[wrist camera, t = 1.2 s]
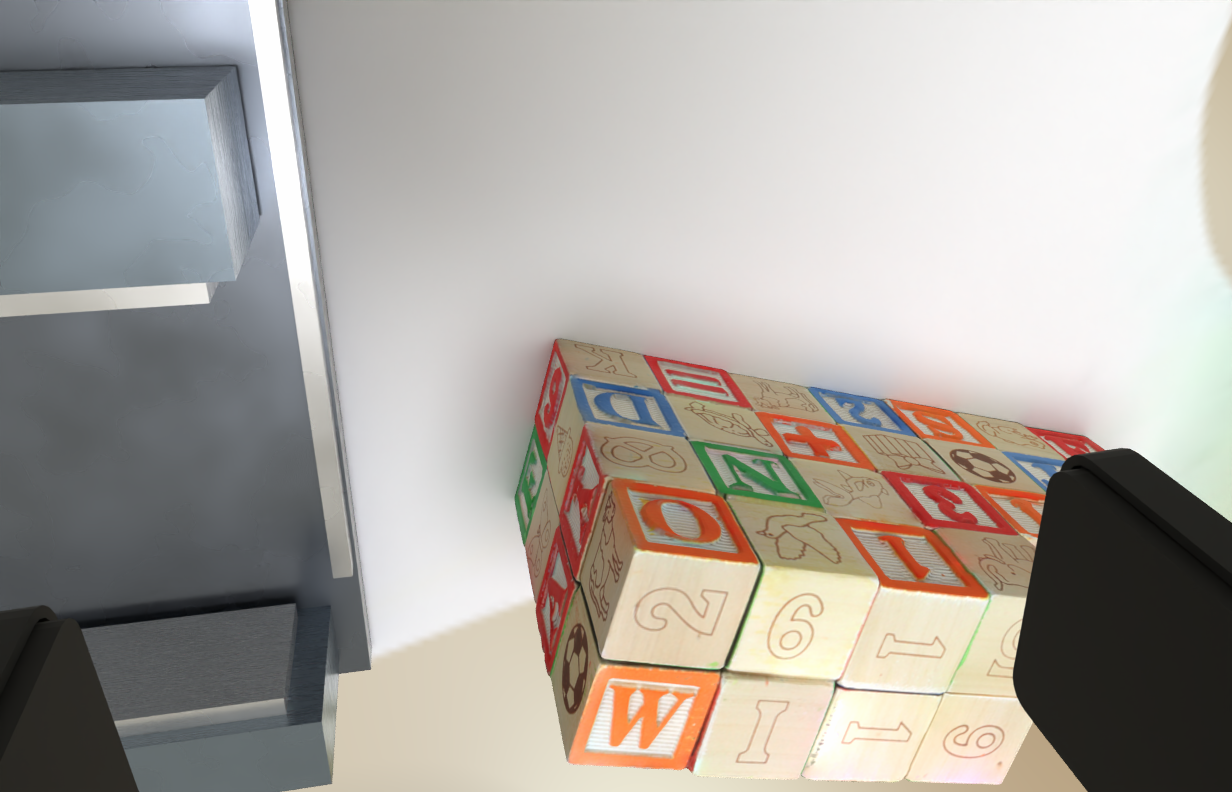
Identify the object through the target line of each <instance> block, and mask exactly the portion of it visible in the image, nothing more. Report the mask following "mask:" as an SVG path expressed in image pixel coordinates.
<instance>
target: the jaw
mask: <svg viewBox="0 0 1232 792" xmlns="http://www.w3.org/2000/svg"><path fill="white" fill-rule="evenodd" d="M259 222H260V218H259V212H258V205H257V199H256V192H255V186H254V179H253V173H252V167H251V160H250V154H249V147H248V141H247V135H246V128H245V122H244V115H243V109H242V103H241V96H240V90H239V83H238V77H237V70H236V66H216V67H175V68H134V69H93V70H52V71H11V72H0V317H9V316H24V315H39V314H55V313H70V312H85V311H100V310H115V309H131V308H146V307H161V306H176V305H192V304H207V303H210V301H211V299H212V297H213V295H214V292H215V290H216V288H217V286H218V283H219V282H224V281H236V278H237V276H238V274H239V271H240V269H241V266H242V264H243V261H244V259H245V256H246V254H247V251H248V249H249V246H250V244H251V241H252V239H253V236H254V234H255V232H256V229H257V227H258V224H259Z"/></svg>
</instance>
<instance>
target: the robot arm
mask: <svg viewBox="0 0 1232 792" xmlns="http://www.w3.org/2000/svg"><path fill="white" fill-rule="evenodd" d="M1013 685H1014V689H1015V693H1016V696H1017V698H1018V700H1019V703H1020V704H1021V706H1022V707H1023V709H1024V711H1025V712H1026V713H1027V714H1028V716H1029V717H1030V718H1031V720H1032V721H1033V722H1034V723H1035V725H1036V726H1037V727H1038V729H1039V730H1040V731H1041V732H1042V734H1043V735H1044V736H1045V738H1046V739H1047V740H1048V741H1049V742H1050V743H1051V745H1052V746H1053V748H1054V749H1055V750H1056V752H1057V753H1058V754H1059V755H1060V757H1061V758H1062V759H1063V761H1064V762H1065V763H1066V764H1067V766H1068V767H1069V768H1070V770H1071V771H1072V772H1073V773H1074V775H1075V776H1076V777H1077V779H1078V780H1079V781H1080V782H1081V784H1082V785H1083V786H1084V787H1085V789H1086V790H1087V791H1088V792H1232V523H1231V522H1230V521H1229V520H1227V519H1226V518H1225V517H1223V516H1222V515H1221V514H1219V513H1218V512H1216V511H1215V510H1214V509H1212V508H1211V507H1210V506H1208V505H1207V504H1206V503H1204V502H1203V501H1202V500H1200V499H1199V498H1198V497H1196V496H1195V495H1194V494H1192V493H1191V492H1190V491H1188V490H1187V489H1186V488H1184V487H1183V486H1182V485H1180V484H1179V483H1178V482H1176V481H1175V480H1173V479H1172V478H1171V477H1169V476H1168V475H1167V474H1165V473H1164V472H1163V471H1161V470H1160V469H1159V468H1157V467H1156V466H1155V465H1153V464H1152V463H1151V462H1149V461H1148V460H1147V459H1145V458H1144V457H1143V456H1141V455H1140V454H1139V453H1137V452H1135V451H1133V450H1131V449H1126V448H1119V449H1112V450H1105V451H1098V452H1091V453H1084V454H1078V455H1073V456H1071V457H1069V458H1067V459H1066V461H1065V462H1064V463H1063V465H1062V467H1061V470H1060V471H1059V472H1057V473H1055V474H1053V475H1052V477H1051V478H1050V479H1049V483H1048V486H1047V490H1046V496H1045V501H1044V506H1043V512H1042V517H1041V523H1040V528H1039V533H1038V539H1037V544H1036V549H1035V555H1034V560H1033V566H1032V571H1031V576H1030V582H1029V587H1028V592H1027V598H1026V603H1025V608H1024V614H1023V619H1022V625H1021V630H1020V635H1019V641H1018V646H1017V651H1016V657H1015V662H1014V668H1013ZM0 792H139V790H138V787H137V785H136V782H135V779H134V776H133V773H132V771H131V768H130V765H129V762H128V759H127V757H126V754H125V751H124V748H123V745H122V742H121V740H120V737H119V734H118V731H117V728H116V726H115V723H114V720H113V717H112V714H111V712H110V709H109V706H108V703H107V700H106V698H105V695H104V692H103V689H102V686H101V684H100V681H99V678H98V675H97V672H96V669H95V667H94V664H93V661H92V658H91V655H90V653H89V650H88V647H87V644H86V641H85V639H84V636H83V633H82V630H81V628H80V626H79V624H78V623H77V622H76V621H75V620H74V619H72V618H65V619H59V620H58V618H57V616H56V614H55V613H54V612H53V611H52V610H51V608H50V607H48V606H44V605H39V606H32V607H25V608H19V609H12V610H5V611H0Z"/></svg>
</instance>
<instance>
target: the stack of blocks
mask: <svg viewBox="0 0 1232 792" xmlns="http://www.w3.org/2000/svg"><path fill="white" fill-rule="evenodd" d="M1098 451H1105V450H1104V449H1103V448H1101V447H1100V446H1099V445H1097V444H1096V443H1094V442H1093V441H1091V440H1090V439H1089V438H1087V437H1084V436H1078V435H1072V434H1066V433H1059V432H1053V431H1047V430H1041V429H1034V428H1030V427H1024V426H1023V425H1021V424H1019V423H1014V422H1009V421H1003V420H998V419H992V418H987V417H981V416H976V415H970V414H964V413H954V412H952V411H948V410H944V409H939V408H933V407H928V406H923V405H917V404H912V403H907V402H901V401H895V400H891V399H884V400H881V401H880V400H877V399H874V398H869V397H863V396H856V395H851V394H846V393H841V392H835V391H829V390H824V389H819V388H814V387H806V388H805V387H802V386H798V385H793V384H788V383H783V382H777V381H771V380H766V379H760V378H755V377H749V376H743V375H738V374H731V373H727V372H726V371H724V370H722V369H716V368H711V367H706V366H701V365H695V364H689V363H684V362H679V361H674V360H668V359H663V358H657V357H652V356H646V355H640V354H637V353H634V352H629V351H624V350H618V349H613V348H608V347H603V346H597V345H592V344H586V343H581V342H576V341H570V340H565V339H556V340H555V342H554V346H553V350H552V353H551V357H550V361H549V365H548V369H547V372H546V376H545V380H544V384H543V388H542V392H541V396H540V400H539V404H538V408H537V411H536V415H535V424H534V429H533V432H532V436H531V440H530V444H529V447H528V451H527V455H526V458H525V462H524V466H523V469H522V473H521V477H520V481H519V485H518V488H517V491H516V495H515V505H516V510H517V516H518V521H519V525H520V531H521V535H522V540H523V544H524V547H525V549H526V556H527V562H528V568H529V573H530V579H531V584H532V589H533V594H534V600H535V603H536V616H537V622H538V629H539V632H540V635H541V641H542V649H543V652H544V653H545V664H546V669H547V673H548V675H549V676H550V678H551V681H552V686H553V691H554V696H555V701H556V707H557V712H558V717H559V723H560V728H561V734H562V739H563V744H564V749H565V754H566V758H567V762H568V763H569V764H573V765H594V766H617V767H634V768H644V769H671V770H682V769H684V768H688V769H689V770H690V771H691V772H692V773H693V774H694V775H696V776H698V777H701V776H702V777H705V776H706V777H723V778H757V779H798V778H799V776H800V775H801V776H803V777H804V778H806V779H808V780H822V781H852V782H857V781H871V782H898V781H900V780H902V779H903V778H904V779H907V780H909V781H911V782H939V783H966V784H967V783H968V784H1001V783H1002V781H1003V779H1004V777H1005V776H1006V774H1007V772H1008V770H1009V768H1010V766H1011V764H1012V762H1013V760H1014V758H1015V756H1016V754H1017V752H1018V750H1019V748H1020V746H1021V744H1022V742H1023V740H1024V738H1025V737H1026V734H1027V733H1028V731H1029V728H1030V727H1031V725H1032V723H1033V721H1032V720H1031V718H1030V717H1029V716H1028V714H1027V713H1026V712H1025V711H1024V709H1023V707H1022V706H1021V704H1020V703H1019V700H1018V698H1017V696H1016V693H1015V689H1014V685H1013V668H1014V662H1015V657H1016V651H1017V646H1018V641H1019V635H1020V630H1021V625H1022V619H1023V614H1024V608H1025V603H1026V598H1027V592H1028V587H1029V582H1030V576H1031V571H1032V566H1033V560H1034V555H1035V549H1036V544H1037V539H1038V533H1039V528H1040V523H1041V517H1042V512H1043V506H1044V501H1045V496H1046V490H1047V486H1048V483H1049V479H1050V478H1051V477H1052V475H1053V474H1055V473H1057V472H1059V471H1060V470H1061V467H1062V465H1063V463H1064V462H1065V461H1066V459H1067V458H1069V457H1071V456H1073V455H1078V454H1084V453H1091V452H1098Z"/></svg>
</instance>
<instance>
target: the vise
mask: <svg viewBox="0 0 1232 792" xmlns="http://www.w3.org/2000/svg"><path fill="white" fill-rule="evenodd" d="M216 66H236V70H237V77H238V83H239V90H240V96H241V103H242V109H243V115H244V122H245V128H246V135H247V141H248V147H249V154H250V160H251V167H252V173H253V179H254V186H255V192H256V199H257V205H258V212H259V218H260V222H259V224H258V227H257V229H256V232H255V234H254V236H253V239H252V241H251V244H250V246H249V249H248V251H247V254H246V256H245V259H244V261H243V264H242V266H241V269H240V271H239V274H238V276H237V278H236V281H224V282H219V283H218V286H217V288H216V290H215V292H214V295H213V297H212V299H211V301H210V303H207V304H192V305H176V306H161V307H146V308H131V309H115V310H100V311H85V312H70V313H55V314H39V315H24V316H9V317H0V611H5V610H12V609H19V608H25V607H32V606H39V605H44V606H48V607H50V608H51V610H52V611H53V612H54V613H55V614H56V616H57V618H58V620H59V619H65V618H72V619H74V620H75V621H76V622H77V623H78V624H79V626H80V628H81V630H82V633H83V636H84V639H85V641H86V644H87V647H88V650H89V653H90V655H91V658H92V661H93V664H94V667H95V669H96V672H97V675H98V678H99V681H100V684H101V686H102V689H103V692H104V695H105V698H106V700H107V703H108V706H109V709H110V712H111V714H112V717H113V720H114V723H115V726H116V728H117V731H118V734H119V737H120V740H121V742H122V745H123V748H124V751H125V754H126V757H127V759H128V762H129V765H130V768H131V771H132V773H133V776H134V779H135V782H136V785H137V787H138V790H139V792H282V791H289V790H295V789H302V788H308V787H314V786H321V785H327V784H332V775H333V758H334V742H335V741H334V740H335V726H336V709H337V693H338V676H339V674H341V673H349V672H356V671H364V670H370V669H371V640H370V633H369V625H368V618H367V610H366V602H365V595H364V587H363V579H362V572H361V564H360V557H359V549H358V541H357V534H356V526H355V518H354V511H353V503H352V496H351V488H350V480H349V473H348V465H347V457H346V450H345V442H344V435H343V427H342V419H341V412H340V404H339V397H338V389H337V381H336V374H335V366H334V358H333V351H332V343H331V336H330V328H329V320H328V313H327V305H326V297H325V290H324V282H323V275H322V267H321V259H320V252H319V244H318V236H317V229H316V221H315V214H314V206H313V198H312V191H311V183H310V175H309V168H308V160H307V153H306V145H305V137H304V130H303V122H302V115H301V107H300V99H299V92H298V84H297V76H296V69H295V61H294V54H293V46H292V38H291V31H290V23H289V15H288V8H287V0H0V72H11V71H52V70H93V69H134V68H175V67H216Z"/></svg>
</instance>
